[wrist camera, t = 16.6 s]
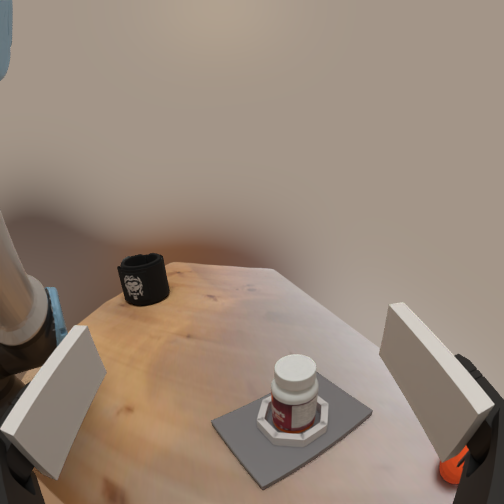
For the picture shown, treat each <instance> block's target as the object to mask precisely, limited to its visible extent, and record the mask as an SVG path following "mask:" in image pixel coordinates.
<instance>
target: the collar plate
mask: <svg viewBox="0 0 504 504" xmlns="http://www.w3.org/2000/svg"><path fill="white" fill-rule="evenodd" d="M316 378H317V380H318V397H317V406H316V414H315V420H314V423H313V425H312V427H311V428H310V429H309V430H308V431H306V432H304V433H302V434H292V433H281V432H280V431H279V430H277V429H276V427H275V426H274V424H273V419H272V402H271V393H269V394H267V395H266V396H264V397H262V398H260V399H258V400H255V401H253V402H251V403H249V404H247V405H245V406H243V407H241V408H239V409H237V410H234V411H232V412H230V413H228V414H225V415H223V416H221V417H219V418H216V419H214V420H211V423H212V426H213V427H214V428H215V430H216V431H217V433H218V434H219V435H220V437H221V438H222V440H223V441H224V442H225V444H226V445H227V446H228V448H229V449H230V450H231V452H232V453H233V454H234V456H235V457H236V458H237V459H238V461H239V462H240V463H241V464H242V466H243V467H244V468H245V469H246V471H247V472H248V473H249V474H250V476H251V477H252V478H253V479H254V480H255V482H256V483H257V484H258V485H259V486H260V487H261V489H262V490H264V489H266V488H267V487H269V486H271V485H273V484H275V483H276V482H278V481H280V480H282V479H283V478H285V477H287V476H288V475H290V474H292V473H293V472H295V471H297V470H298V469H300V468H301V467H303V466H305V465H306V464H308V463H309V462H311V461H312V460H314V459H315V458H317V457H318V456H319V455H321V454H322V453H324V452H325V451H327V450H328V449H329V448H331V447H332V446H333V445H335V444H336V443H338V442H339V441H340V440H341V439H343V438H344V437H345V436H347V435H348V434H349V433H350V432H352V431H353V430H354V429H355V428H357V427H358V426H359V425H360V424H361V423H363V422H364V421H365V420H366V419H367V418H369V417H370V416H371V415H372V412H373V410H371V409H370V408H368V407H367V406H365V405H364V404H362V403H361V402H359V401H358V400H356V399H355V398H354V397H352V396H351V395H349V394H348V393H346V392H345V391H343V390H342V389H340V388H339V387H338V386H336V385H335V384H333V383H332V382H330V381H329V380H328V379H326V378H325V377H323V376H322V375H321V374H319V373H318V372H316Z"/></svg>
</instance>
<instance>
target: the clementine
mask: <svg viewBox="0 0 504 504" xmlns="http://www.w3.org/2000/svg"><path fill="white" fill-rule="evenodd" d="M468 451H469V449H468V448H467V446H465V447H464V448H463V450H462V451H461V452H460V453H459V454H458V455H457V456H455V457H453V458H451V459H449V460H447V461H445V462H443V463H442V462H441V460H440V466H439V467H440V474H441V476H442V477H443V479H444V480H446V481H447V482H449V483H451V484H459V481H460V478H461V474H462V470H463V468H462V467H463V466H464V462H463V463H462V464H461V465H460V466H459V467H456V466H457V464H458V462H459V461H460V460H461V459H462V458H463V456H464V455H465V454H466V453H467V452H468Z"/></svg>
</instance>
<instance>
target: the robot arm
mask: <svg viewBox="0 0 504 504" xmlns="http://www.w3.org/2000/svg"><path fill="white" fill-rule="evenodd" d="M11 44H12V0H0V81H1V80H2V79H3V78H4V76H5V75H6V73H7V70H8V66H9V61H10V47H11ZM379 355H380V357H381V358H382V360H383V362H384V363H385V365H386V366H387V368H388V370H389V371H390V373H391V375H392V376H393V378H394V379H395V381H396V383H397V384H398V386H399V388H400V389H401V391H402V393H403V394H404V396H405V398H406V399H407V401H408V403H409V405H410V406H411V408H412V410H413V411H414V413H415V415H416V417H417V418H418V420H419V422H420V424H421V425H422V427H423V429H424V431H425V432H426V434H427V436H428V438H429V440H430V441H431V443H432V445H433V447H434V449H435V451H436V453H437V454H438V456H439V458H440V460H441V462H442V463H443V462H445V461H447V460H449V459H451V458H453V457H455V456H457V455H458V454H459V453H460V452H461V451H462V450H463V448H464V447H465V446H467V448H468V449H469V451H468V452H467V453H466V454H465V455H464V456H463V458H462V459H461V460H460V461H459V462H458V464H457V466H456V467H459V466H460V465H461V464H462V463H463V462H464V466H463V467H462V468H463V470H462V474H461V478H460V481H459V485H458V488H457V492H456V495H455V498H454V501H453V504H504V399H503V398H502V397H501V396H500V395H499V394H498V392H497V391H496V390H495V389H494V388H493V386H492V385H491V384H490V383H489V382H488V381H487V379H486V378H485V377H483V376H482V374H481V373H480V371H479V370H477V368H476V367H475V366H474V365H473V364H472V362H471V361H470V360H468V359H467V358H465V357H463V356H461V355H460V354H457V355H455V356H454V355H453V354H452V353H451V352H450V351H449V350H448V349H447V348H446V346H445V345H444V344H443V343H442V342H441V341H440V340H439V339H438V338H437V337H436V335H435V334H434V333H433V332H432V331H431V330H430V329H429V328H428V327H427V326H426V325H425V324H424V323H423V322H422V321H421V320H420V319H419V318H418V317H417V316H416V314H415V313H414V312H413V311H412V310H411V309H410V308H409V307H408V306H407V305H406V304H405V303H404V302H401V303H395V304H390V305H389V307H388V313H387V318H386V323H385V328H384V334H383V339H382V343H381V348H380V352H379ZM41 366H42V367H41ZM38 367H41V369H40V370H39V372H38V373H37V374H36V376H35V377H34V378H33V380H32V381H31V382H29V383H28V384H26V385H25V384H24V383H23V382H22V381H21V380H19V379H18V378H17V377H16V376H15V374H17V373H21V372H24V371H28V370H31V369H35V368H38ZM106 373H107V372H106V370H105V368H104V365H103V363H102V361H101V359H100V356H99V354H98V351H97V349H96V347H95V344H94V342H93V339H92V337H91V334H90V331H89V329H88V326H77V325H75V326H74V327H73V328H72V329H71V330H70V332H69V333H68V332H67V328H66V325H65V321H64V317H63V313H62V309H61V305H60V301H59V296H58V292H57V289H56V288H55V287H50V288H49V287H46V288H45V289H44V287H43V286H42V284H41V283H40V282H39V281H38V280H37V279H35V278H34V277H32V276H30V275H27V274H26V272H25V270H24V268H23V266H22V264H21V261H20V259H19V257H18V254H17V252H16V250H15V248H14V245H13V242H12V240H11V237H10V235H9V232H8V230H7V227H6V224H5V221H4V218H3V216H2V213H1V210H0V504H45V502H44V499H43V496H42V494H41V490H40V487H39V484H38V480H37V477H36V475H35V473H34V472H33V471H32V470H33V468H34V467H35V468H36V469H38V470H39V471H40V472H41V473H42V474H43V475H45V476H48V477H50V478H52V479H55V480H58V477H59V475H60V472H61V470H62V467H63V465H64V462H65V460H66V458H67V455H68V453H69V451H70V448H71V446H72V444H73V441H74V439H75V437H76V435H77V432H78V430H79V428H80V426H81V424H82V421H83V419H84V417H85V415H86V413H87V411H88V409H89V407H90V405H91V403H92V400H93V398H94V396H95V394H96V392H97V390H98V388H99V386H100V384H101V382H102V380H103V379H104V377H105V375H106Z"/></svg>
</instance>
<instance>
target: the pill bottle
mask: <svg viewBox="0 0 504 504" xmlns="http://www.w3.org/2000/svg"><path fill="white" fill-rule="evenodd" d="M317 397H318V380H317V378H316V364H315V362H314V361H313V360H312V359H311V358H309V357H307V356H304V355H298V354H294V355H288V356H285V357H283V358H281V359H280V360H278V361H277V363H276V364H275V368H274V379H273V380H272V383H271V402H272V419H273V424H274V426H275V427H276V429H277V430H279V431H280V432H281V433H292V434H302V433H304V432H306V431H308V430H309V429H310V428H311V427H312V425H313V423H314V420H315V414H316V406H317Z"/></svg>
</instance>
